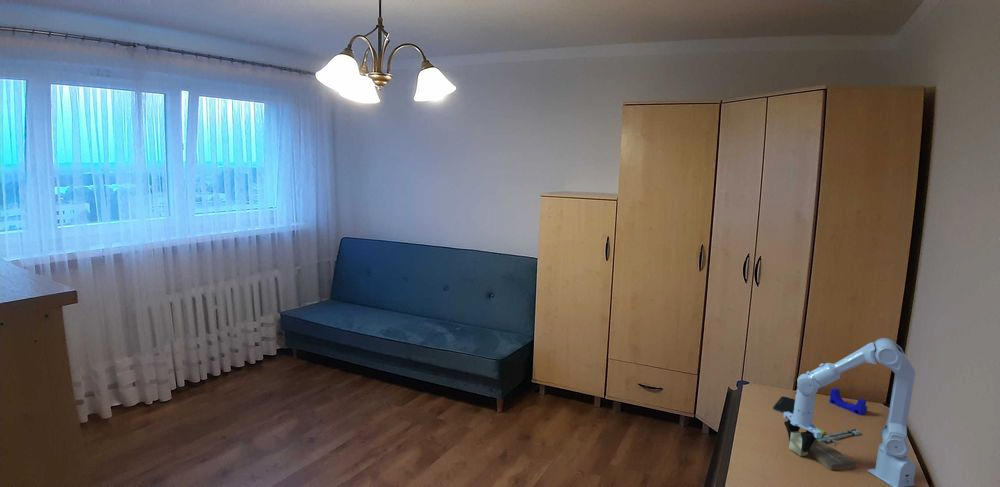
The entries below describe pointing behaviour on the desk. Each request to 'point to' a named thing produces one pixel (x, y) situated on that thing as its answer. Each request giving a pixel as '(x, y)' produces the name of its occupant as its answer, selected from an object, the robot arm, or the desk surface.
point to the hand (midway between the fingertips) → (798, 446)
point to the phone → (785, 405)
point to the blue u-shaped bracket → (858, 408)
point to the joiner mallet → (798, 443)
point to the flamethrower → (831, 438)
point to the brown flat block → (829, 456)
